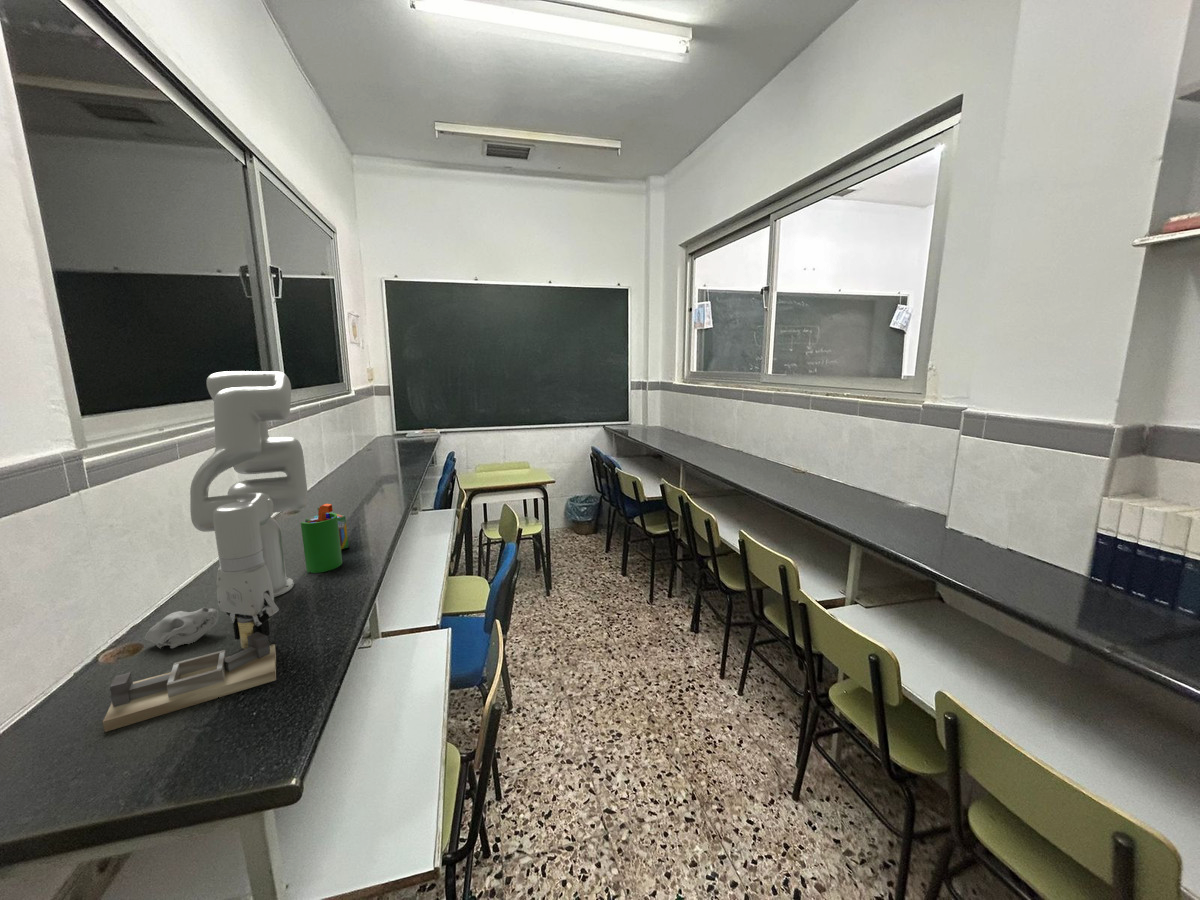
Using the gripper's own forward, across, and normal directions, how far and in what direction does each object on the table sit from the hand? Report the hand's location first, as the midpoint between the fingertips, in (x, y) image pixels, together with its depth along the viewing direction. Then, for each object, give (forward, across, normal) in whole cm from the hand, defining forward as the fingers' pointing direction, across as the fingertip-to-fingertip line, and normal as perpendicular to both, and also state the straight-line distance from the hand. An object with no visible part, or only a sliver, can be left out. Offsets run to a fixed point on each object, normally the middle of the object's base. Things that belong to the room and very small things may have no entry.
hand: (252, 636), depth 103 cm
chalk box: (+4, -26, +52) cm, 59 cm away
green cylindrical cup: (+4, -16, +40) cm, 44 cm away
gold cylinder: (+2, 0, 0) cm, 2 cm away
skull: (+3, -17, -1) cm, 18 cm away
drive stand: (+2, +2, -13) cm, 14 cm away
